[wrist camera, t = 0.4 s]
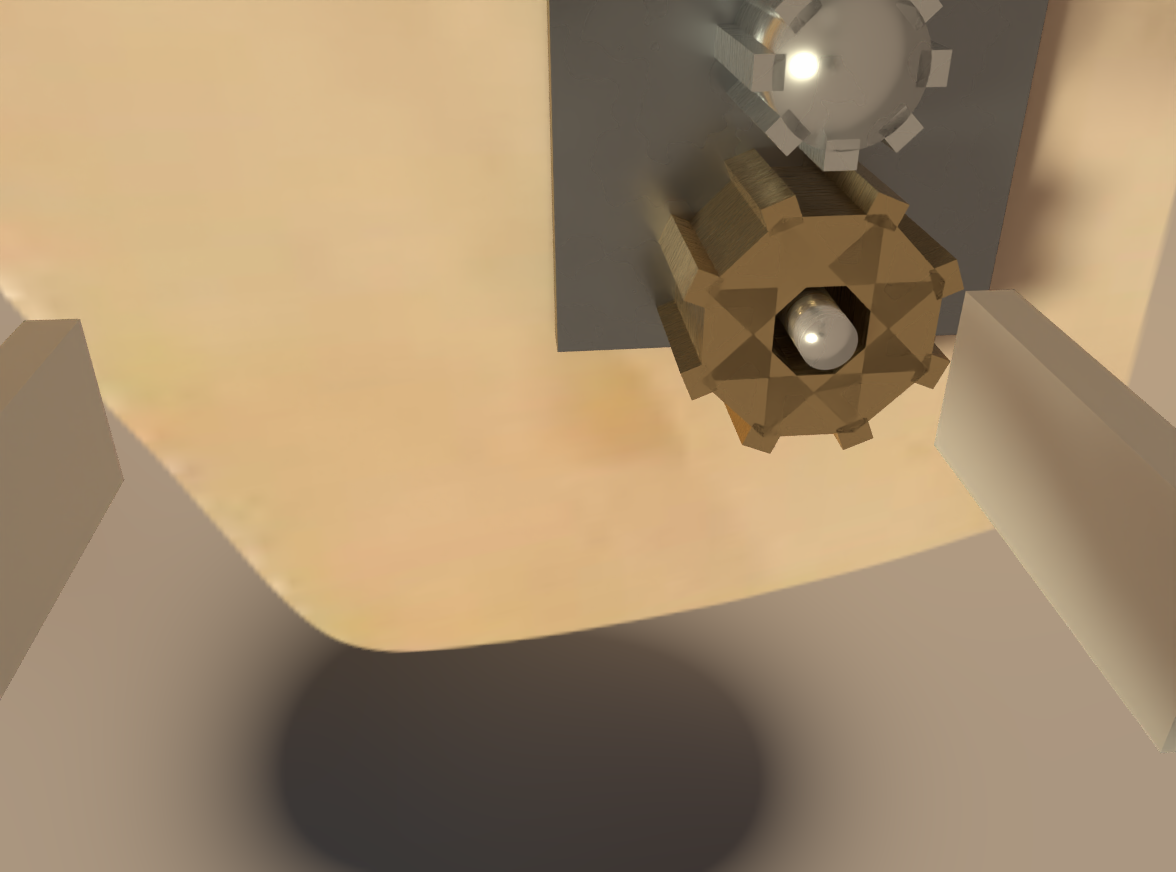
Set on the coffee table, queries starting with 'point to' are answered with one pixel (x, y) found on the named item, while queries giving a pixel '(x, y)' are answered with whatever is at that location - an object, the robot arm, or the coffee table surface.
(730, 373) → the seated gear
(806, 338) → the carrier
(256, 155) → the coffee table surface
